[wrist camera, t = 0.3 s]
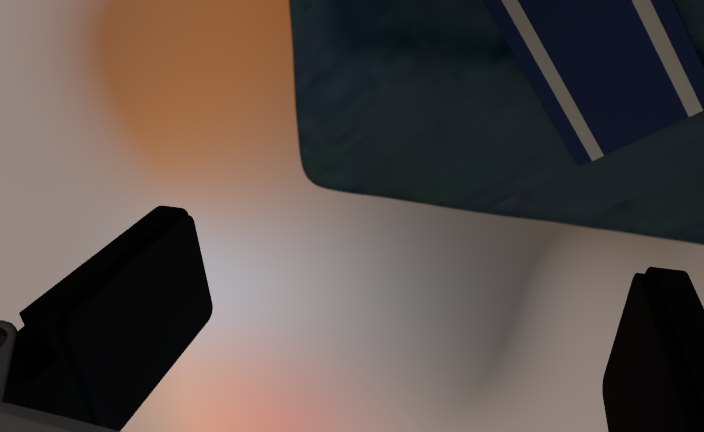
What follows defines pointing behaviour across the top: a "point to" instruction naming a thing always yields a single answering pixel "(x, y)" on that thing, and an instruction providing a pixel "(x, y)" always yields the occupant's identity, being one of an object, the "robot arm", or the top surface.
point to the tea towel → (604, 67)
